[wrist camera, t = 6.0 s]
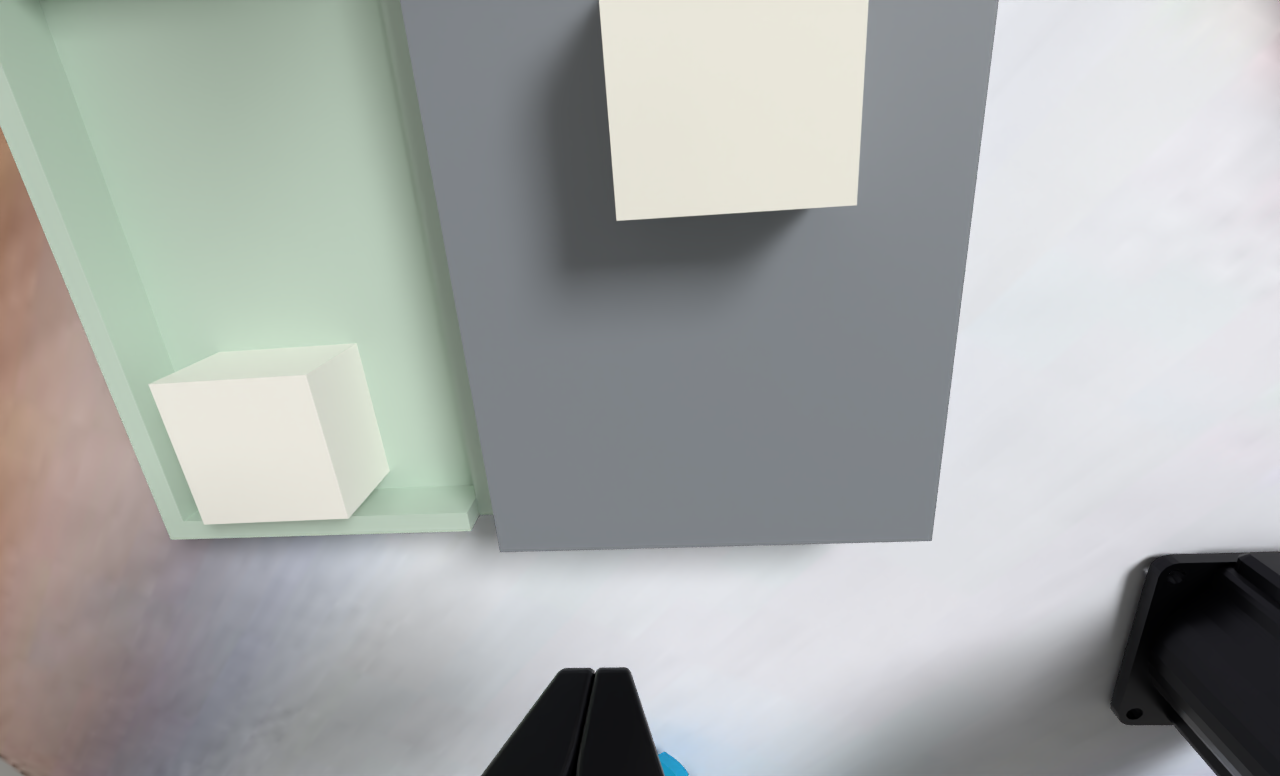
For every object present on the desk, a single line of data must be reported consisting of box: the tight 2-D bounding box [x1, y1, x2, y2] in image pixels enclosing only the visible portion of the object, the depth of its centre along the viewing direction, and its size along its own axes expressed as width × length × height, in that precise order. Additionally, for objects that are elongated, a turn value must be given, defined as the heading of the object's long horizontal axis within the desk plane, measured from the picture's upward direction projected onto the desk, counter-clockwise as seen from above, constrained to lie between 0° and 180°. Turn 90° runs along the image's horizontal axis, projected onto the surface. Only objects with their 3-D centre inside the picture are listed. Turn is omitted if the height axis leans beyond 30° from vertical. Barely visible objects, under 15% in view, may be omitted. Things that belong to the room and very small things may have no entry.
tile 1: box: [599, 0, 869, 221], centre depth 11 cm, size 4×4×2 cm
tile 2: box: [148, 343, 390, 525], centre depth 17 cm, size 4×4×2 cm
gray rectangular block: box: [400, 0, 999, 552], centre depth 14 cm, size 15×11×3 cm
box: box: [0, 0, 493, 540], centre depth 16 cm, size 15×10×2 cm, turn 4°
